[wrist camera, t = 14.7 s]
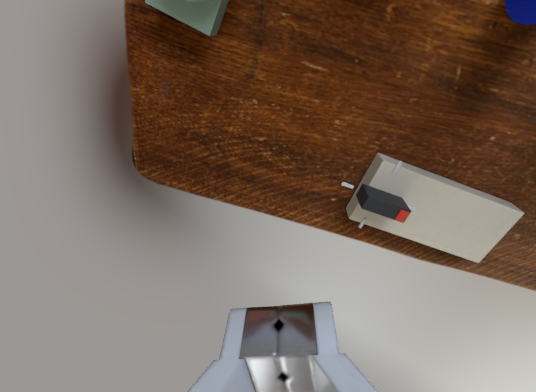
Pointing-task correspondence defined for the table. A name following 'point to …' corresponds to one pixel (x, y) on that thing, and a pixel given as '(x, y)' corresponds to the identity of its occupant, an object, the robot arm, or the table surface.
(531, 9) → the beverage can
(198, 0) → the control block
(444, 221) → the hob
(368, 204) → the dark grey red-tipped block
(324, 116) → the table surface
